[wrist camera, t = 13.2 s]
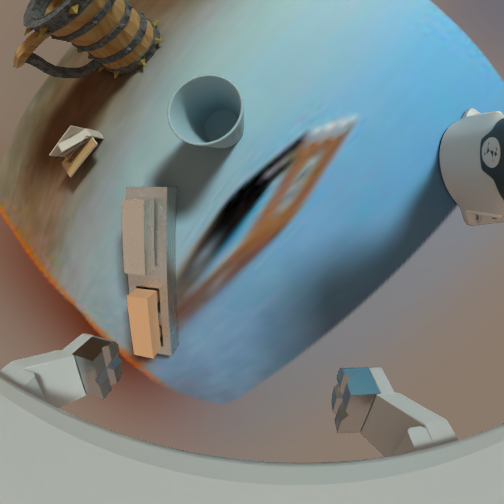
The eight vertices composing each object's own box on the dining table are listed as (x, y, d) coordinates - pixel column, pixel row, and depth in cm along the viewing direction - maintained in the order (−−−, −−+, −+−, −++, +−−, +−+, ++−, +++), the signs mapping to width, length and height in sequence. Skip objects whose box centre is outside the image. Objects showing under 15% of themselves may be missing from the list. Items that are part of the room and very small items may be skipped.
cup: (258, 149, 35) (250, 134, 25) (201, 163, 36) (174, 154, 26) (246, 97, 34) (234, 66, 24) (191, 111, 35) (162, 87, 25)
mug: (182, 42, 32) (123, -35, 13) (97, 116, 36) (2, 89, 16) (145, 5, 31) (88, -58, 11) (70, 72, 34) (-9, 40, 14)
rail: (176, 186, 37) (155, 187, 30) (178, 344, 42) (164, 369, 36) (138, 186, 37) (112, 187, 31) (144, 338, 43) (126, 360, 36)
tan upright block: (166, 281, 40) (147, 298, 33) (169, 335, 42) (153, 358, 35) (148, 279, 40) (126, 295, 34) (152, 332, 42) (134, 354, 36)
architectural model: (110, 145, 37) (82, 139, 30) (84, 177, 38) (54, 177, 31) (100, 131, 37) (71, 124, 29) (74, 162, 38) (44, 161, 31)
